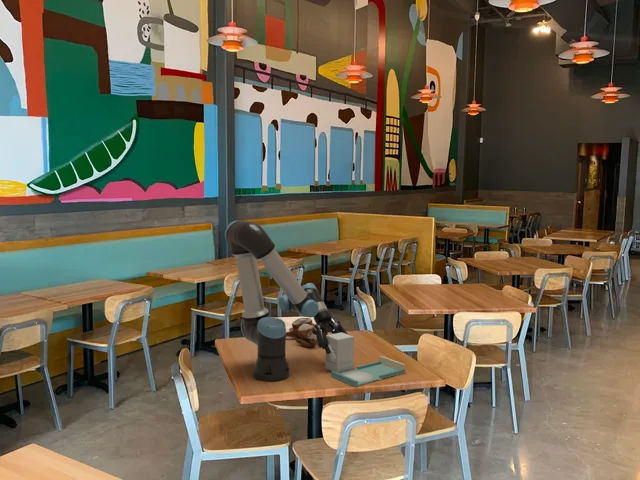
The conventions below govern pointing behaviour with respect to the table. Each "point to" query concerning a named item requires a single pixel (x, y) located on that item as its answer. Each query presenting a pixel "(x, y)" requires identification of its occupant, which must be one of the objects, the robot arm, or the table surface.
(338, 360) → the supplement box
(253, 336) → the robot arm
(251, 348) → the table surface
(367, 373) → the teal flat tray
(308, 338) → the toy
